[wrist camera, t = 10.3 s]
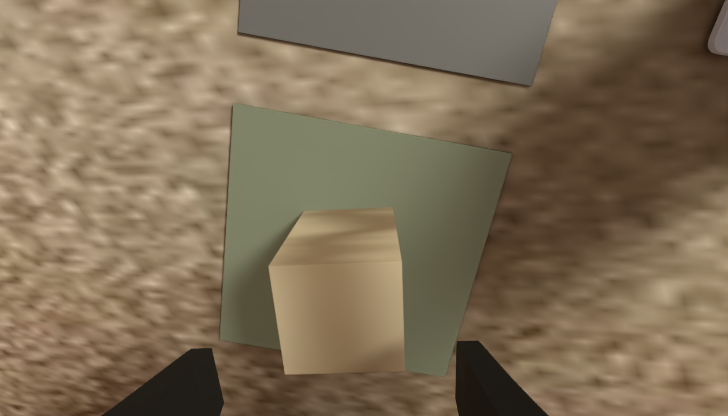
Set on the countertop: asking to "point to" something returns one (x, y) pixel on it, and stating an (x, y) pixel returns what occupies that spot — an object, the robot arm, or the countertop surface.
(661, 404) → the countertop surface
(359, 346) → the birch block
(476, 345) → the robot arm
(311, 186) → the olive mat
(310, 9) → the tile
